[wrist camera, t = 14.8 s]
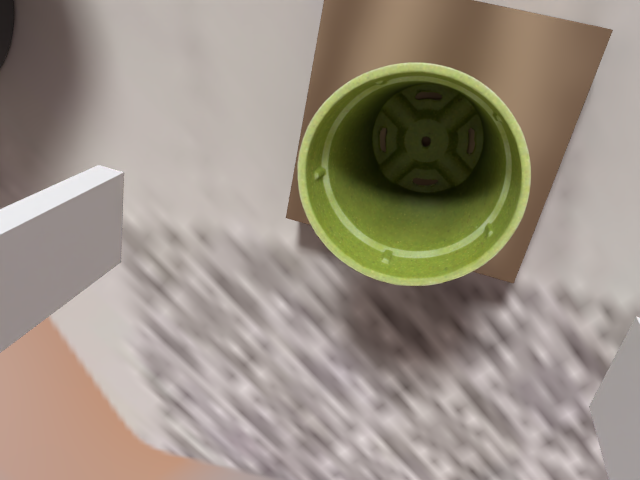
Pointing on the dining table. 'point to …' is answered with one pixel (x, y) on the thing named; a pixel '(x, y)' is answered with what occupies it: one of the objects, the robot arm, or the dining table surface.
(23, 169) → the dining table surface
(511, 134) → the plant pot
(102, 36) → the dining table surface
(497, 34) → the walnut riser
